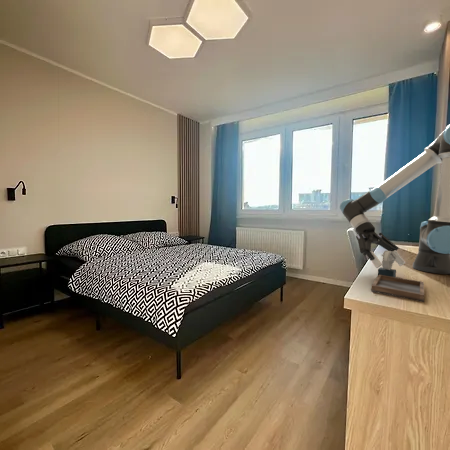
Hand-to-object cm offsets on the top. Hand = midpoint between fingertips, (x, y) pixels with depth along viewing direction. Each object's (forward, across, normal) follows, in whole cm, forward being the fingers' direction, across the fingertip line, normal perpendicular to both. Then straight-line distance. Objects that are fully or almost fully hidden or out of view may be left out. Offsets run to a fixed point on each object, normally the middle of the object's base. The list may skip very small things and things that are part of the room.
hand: (391, 265), depth 101 cm
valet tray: (+12, +12, +5) cm, 18 cm away
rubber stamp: (+3, 0, -5) cm, 6 cm away
